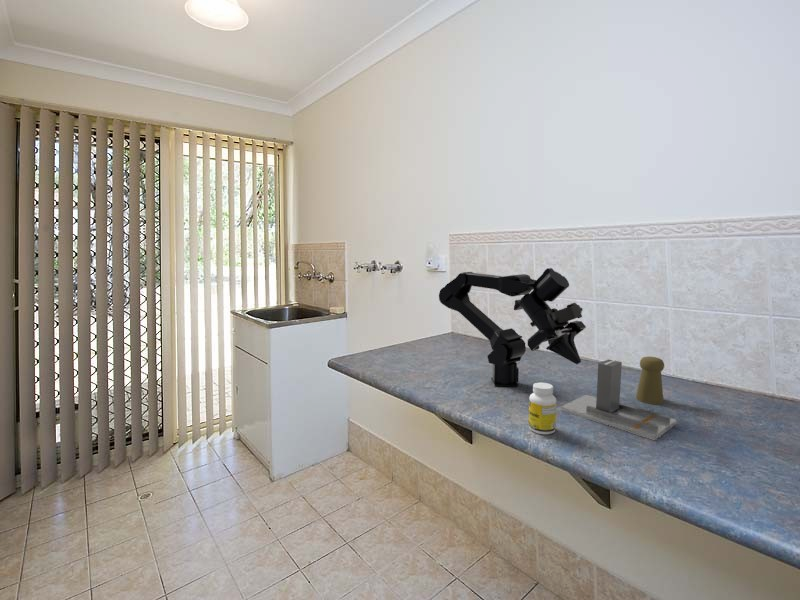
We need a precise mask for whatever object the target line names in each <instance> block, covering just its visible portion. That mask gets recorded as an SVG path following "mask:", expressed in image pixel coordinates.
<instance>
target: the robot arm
mask: <svg viewBox="0 0 800 600" xmlns="http://www.w3.org/2000/svg"><path fill="white" fill-rule="evenodd" d="M472 287H477V288H483V289H491V290H495V291H499V293H501V294H504V295H506V296H509V297H519V296H522V297H521V298H520V299H515V300H514V305H513V310H514V311H520V310H523V311H524V312H525V314H526V315H527V317H528V318H529V319H530V321H531V322H530V323H529V324H530V326H531V327H532V328H533V327H536V328H537V330H536V332H535V333H534V334H533V335H531V336H529V338H528V339H527V346H526V342H525V340H524V339H523V336H522V335H521V334H518V333H517V332H516V331H515V329H513V328H507V329H504V328H503V329H502V328H501V327H500V326H499V325H498V324H497V323H495V322H494V321H493V320H492V319H491V318H490V317H489V316H487V315H486V314H485V313H484V312H483V311H482V310H481V309H480V308H478V307H477V306H476V305H475V304H474V303H472V301H471V300H470V296H469V293H470V292H471V290H472ZM569 287H570V282H569V280H568V279H567V278H566V277H565V275H562V274H561V273H559V272H557V271H556V270H554V269H553V268H552V267H549V268H548V267H546V268H545V270H544V271H543V272H542V274H541V275H540V276H539V277H538V278H537V279H534V278H531V277H530V275H529V274H526V273H525V274H523V273H521V274H511V275H494V274H488V273H486V274H485V273H478V272H477V273H476V272H473V271H465V272H463V271H462V272H460V273H458V275H457V276H456V277H455V278H454V279H452V280H451V281H449V282H448V283H447V284H445V285H444V287H442V288H441V289H439V290H440V291H439V293H438V299H439V302H440V303H441V304H442V305H443V306H445V307H446V308H448V309H450V310H453V311H454V312H455V311H456V312H458V313H459V314H460V315H461V316H462V317H464V318H465V320H467V321H468V323H470V324H471V325H472V326H474V328H476V329H477V331H478V332H480V333H481V334H482V335H483V336H484V337H485V338H486V339H488V341H489V344H490V348H491V349H492V351H491V352H490V353H489V354H488V355H487V361H488V363H489V364H491V365H492V376H491V378H490V380H491V382H492V384H493V385H494V386H495V387H519V386H518V385H519V384H518V383H519V375H520V374H519V367H518V364H517V362H520V361H522V357H523V356H524V355H525V353H526V349H527V347H528V348H529V349H530V350H531V351H532V352H534V351H537V350H539V349H540V345H541V344H542V343H544V342H547V344H548V346H547V347H546V348H545V350H547V351H551V352H553V353H555V354H557V355H559V356H560V357H562V358H564V359H566V360H568V361H570V362H572V363H573V364H575V365H579V364H580V363H581V362H582V360H581V358H580V355H579V352H578V349H577V347H576V343H575V338H576V336H578V334H580V333H581V332H583V331H584V330H585V329H586V328H587V326H586V325H585V323H584V322H582V321H581V320H575V319H580V318H583V315H582V313H583V307H580V305H579V304H577V303H576V302H572V303H570V304H567V305H566V307H564V308H562V309H559V310H558V308H553V307H552V308H551V307H550V305H549V304H548V303H547V302H554V301H555V300H556V299H557V298H558V297H560V295H562V293H563V292H564V291H566V290H567V289H568V288H569ZM572 320H574V321H572ZM569 321H570V322H569Z"/></svg>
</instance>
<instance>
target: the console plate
mask: <svg viewBox="0 0 800 600" xmlns="http://www.w3.org/2000/svg"><path fill="white" fill-rule="evenodd" d="M596 399H597V396H592V395H589V394H585V395H583V396H580V397H578V398H576V399H574V400H571V401H569V402H568V403H565V404H564V405H561V407H560V409H561V411H562V412H565V413H567V414H570V415H575V416H577V417H580V418H583V419H587V420H590V421H593V422H596V423H599V424H601V423H602V425H605V426H608V425H609V426H608V427H611V426H612V427H611V428H614V427H615V428H614V429H617V428H618V430H620V429H622V430H621V431H623V430H625V431H624V432H626V431H628V432H627V433H629V432H630V434H632V433H633V434H634V435H635V434H636V436H639V437H642V438H645V437H646V438H645V439H648V438H649V440H651V439H652V441H654V440H655V441H657V440H658V439H659V438H660V437H661V435H662V436H663V435H664V434H665V433H666V432H668V431H669V430H671V429H672V428H673V427H675V425H677V419H676V418H671V416H668V415H664V414H661V413H657V412H653V411H651V410H650V411H649V410H646V409H644V408H643V409H642V408H639V407H635V406H631V405H627V404H624V403H621V402H619V408H618V409H617V410H615V411H613V412H608V411H605V410H602V409H598V408H596ZM658 437H659V438H658ZM657 438H658V439H657Z"/></svg>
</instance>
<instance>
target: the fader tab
mask: <svg viewBox="0 0 800 600" xmlns="http://www.w3.org/2000/svg"><path fill="white" fill-rule="evenodd" d="M622 365H623V362H622V361H618V360H615V359H606V360H603V361H601V362H599V363H598V365H597V367H598V368H597V382H596V398H597V399H596V408H598V409H602V410H605V411H608V412H613V411H615V410H617V409H618V408H619V403H621V402H620V398H621V385H622V384H621V381H622V379H621V378H622V367H623V366H622Z"/></svg>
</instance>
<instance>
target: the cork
mask: <svg viewBox="0 0 800 600" xmlns="http://www.w3.org/2000/svg"><path fill="white" fill-rule="evenodd" d="M664 362H665V361H663V359H661V358H659V357H656V356H643V357H642V358H641V359H640V361H639V366H640V368H641V372H640V377H639V381H638V384H637V385H638V386H637V389H636V394H635V399H636V401H639V402H641V403H645V404H650V405H662V404H664V393H663V392H664V391H663V390H664V389H663V379H662V372H663V370H664V369H665V363H664Z"/></svg>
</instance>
